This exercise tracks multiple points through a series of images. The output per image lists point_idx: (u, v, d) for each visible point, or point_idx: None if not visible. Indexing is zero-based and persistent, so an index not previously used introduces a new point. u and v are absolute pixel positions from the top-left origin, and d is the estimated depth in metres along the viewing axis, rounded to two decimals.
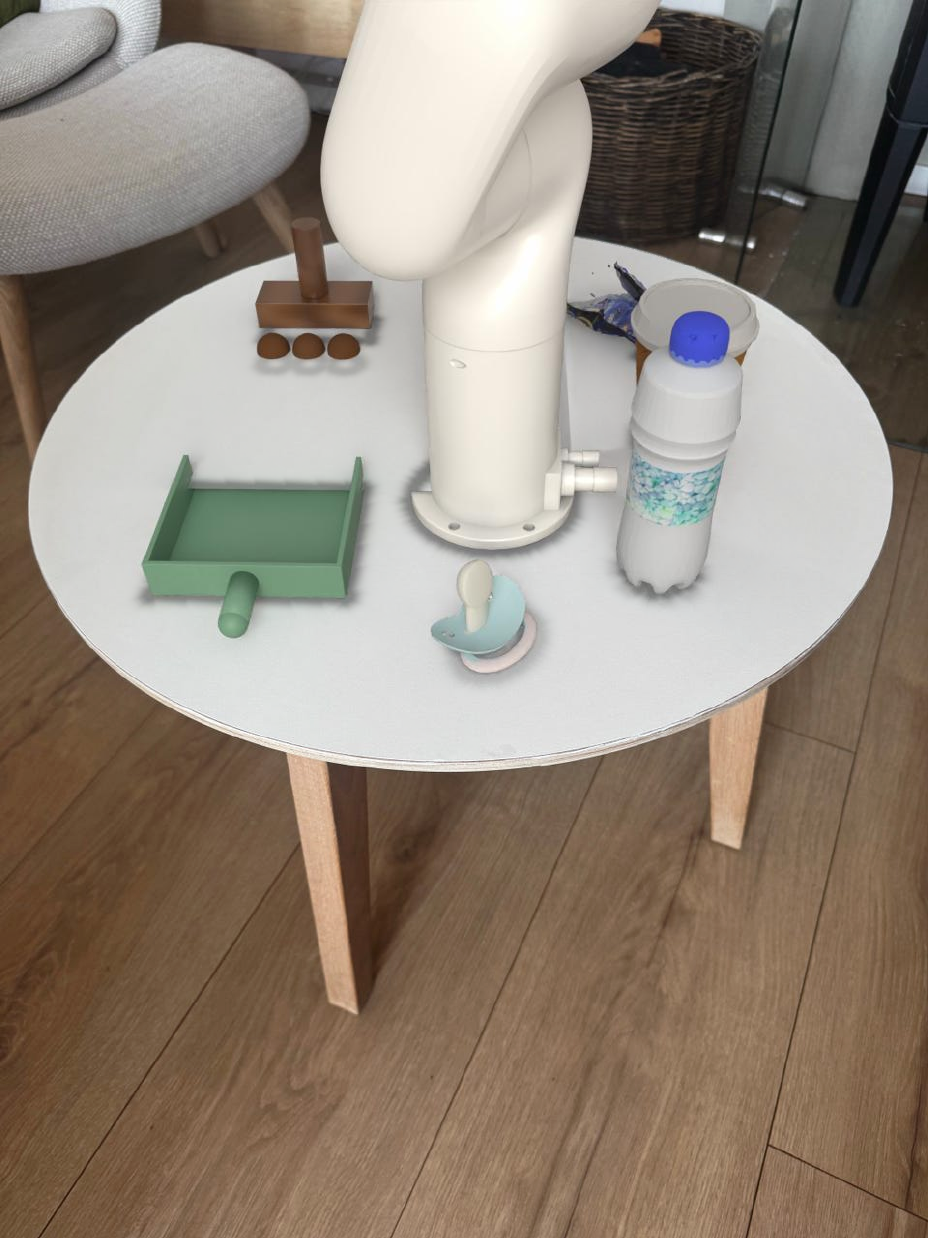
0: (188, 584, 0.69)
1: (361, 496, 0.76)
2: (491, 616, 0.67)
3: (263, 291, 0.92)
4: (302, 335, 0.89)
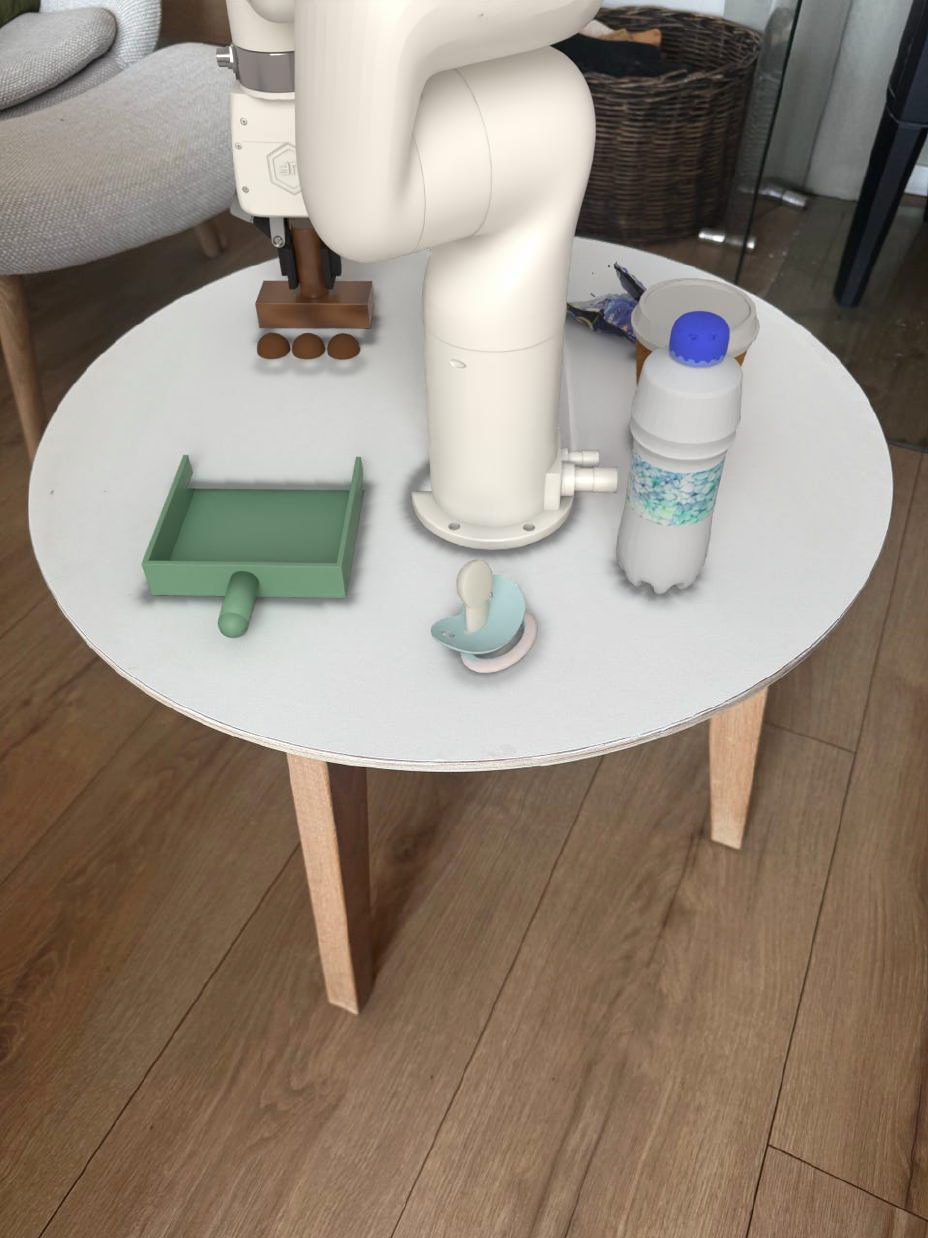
0: (188, 584, 0.69)
1: (361, 496, 0.76)
2: (491, 616, 0.67)
3: (263, 291, 0.92)
4: (302, 335, 0.89)
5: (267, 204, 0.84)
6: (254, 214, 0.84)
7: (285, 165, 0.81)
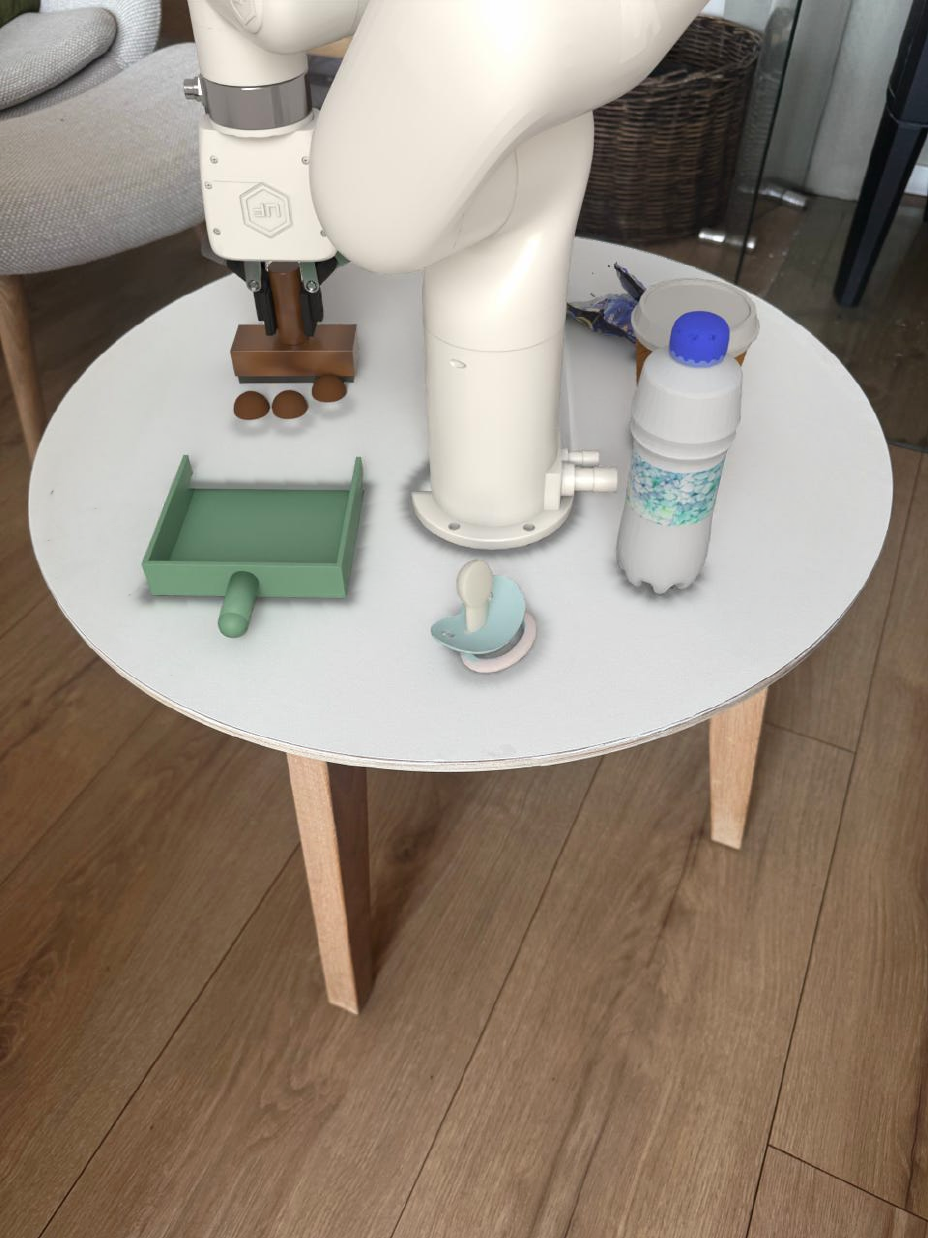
0: (188, 584, 0.69)
1: (361, 496, 0.76)
2: (491, 616, 0.67)
3: (238, 337, 0.85)
4: (283, 391, 0.83)
5: (240, 247, 0.77)
6: (227, 258, 0.77)
7: (260, 206, 0.74)
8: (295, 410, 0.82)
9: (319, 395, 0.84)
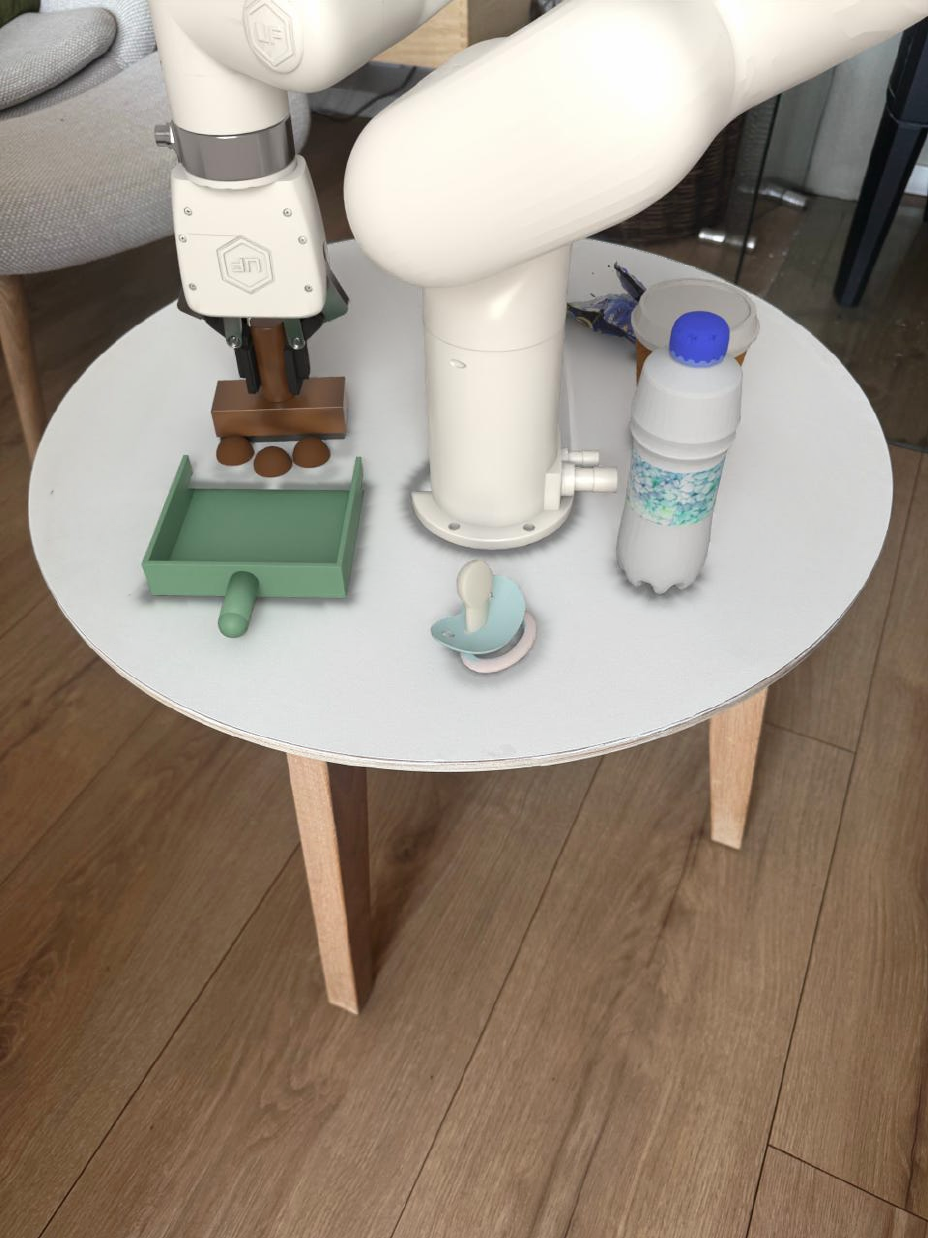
0: (188, 584, 0.69)
1: (361, 496, 0.76)
2: (491, 616, 0.67)
3: (219, 395, 0.79)
4: None
5: (219, 303, 0.71)
6: (204, 314, 0.71)
7: (238, 260, 0.68)
8: (275, 452, 0.77)
9: None
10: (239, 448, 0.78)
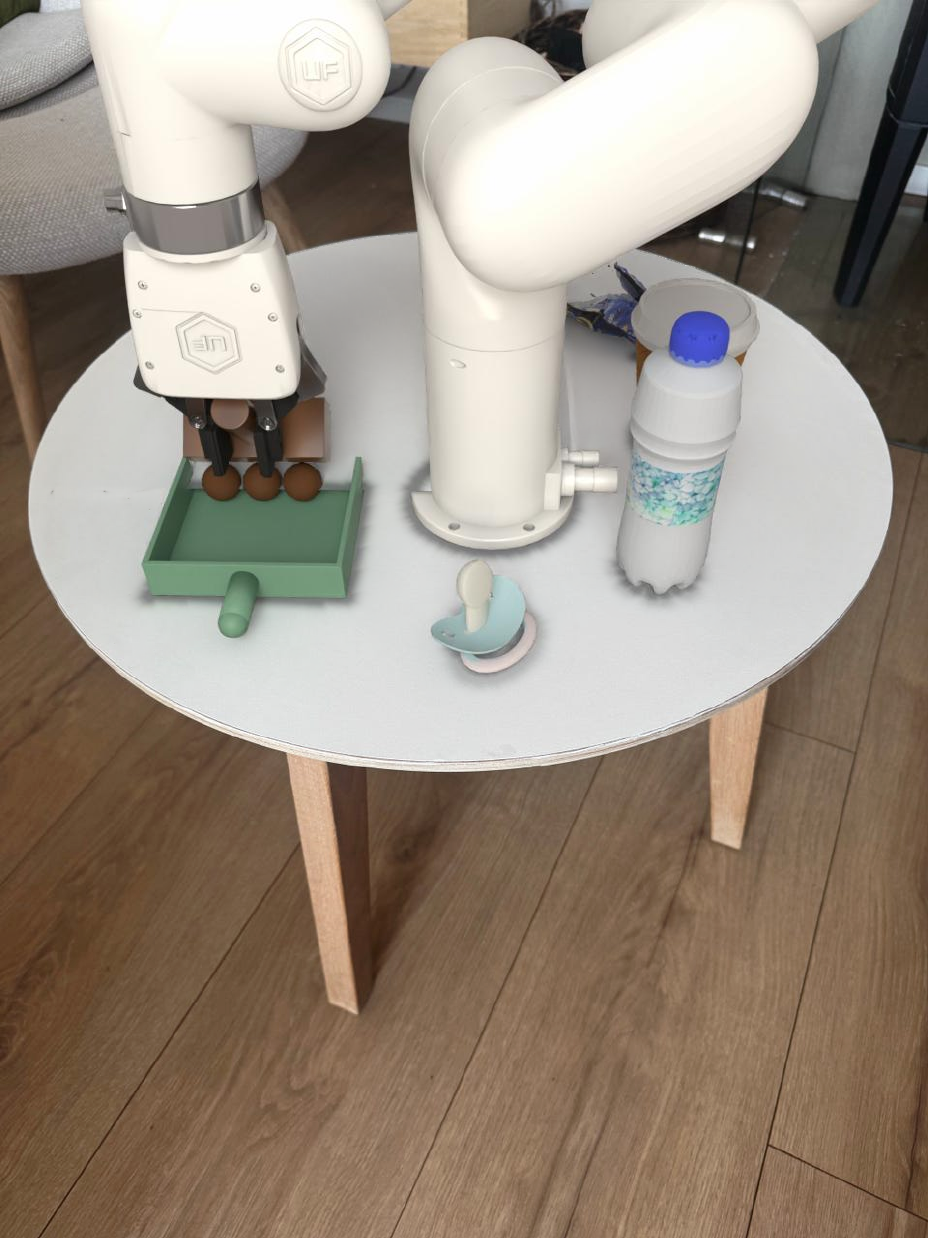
0: (188, 584, 0.69)
1: (361, 496, 0.76)
2: (491, 616, 0.67)
3: (188, 426, 0.72)
4: (255, 464, 0.76)
5: (179, 384, 0.63)
6: (163, 394, 0.64)
7: (201, 338, 0.61)
8: (261, 495, 0.75)
9: (289, 478, 0.75)
10: None
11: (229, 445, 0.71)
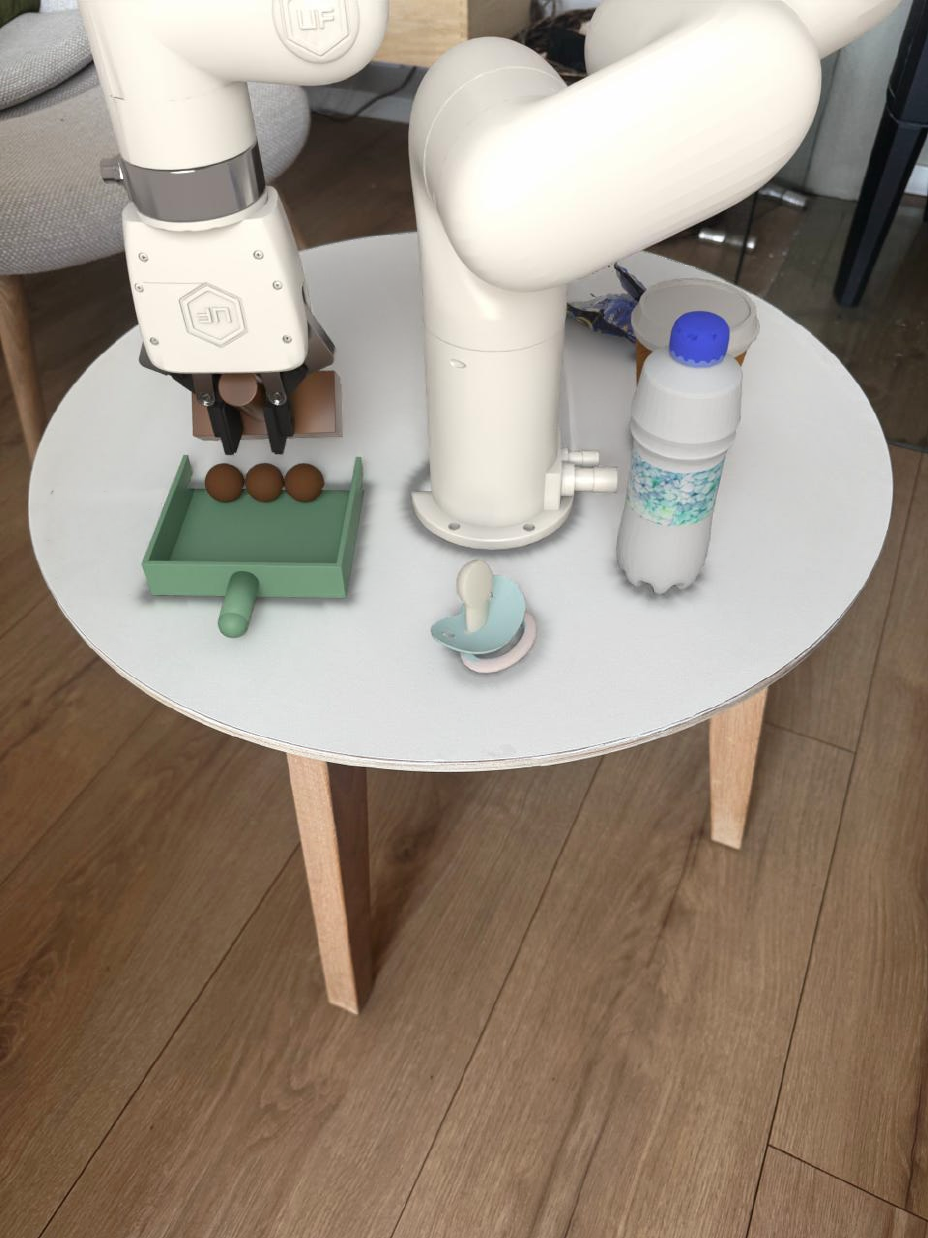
0: (188, 584, 0.69)
1: (361, 496, 0.76)
2: (491, 616, 0.67)
3: (197, 405, 0.71)
4: (259, 466, 0.75)
5: (185, 359, 0.61)
6: (169, 371, 0.62)
7: (205, 311, 0.59)
8: (263, 497, 0.75)
9: (292, 479, 0.75)
10: None
11: (239, 423, 0.69)
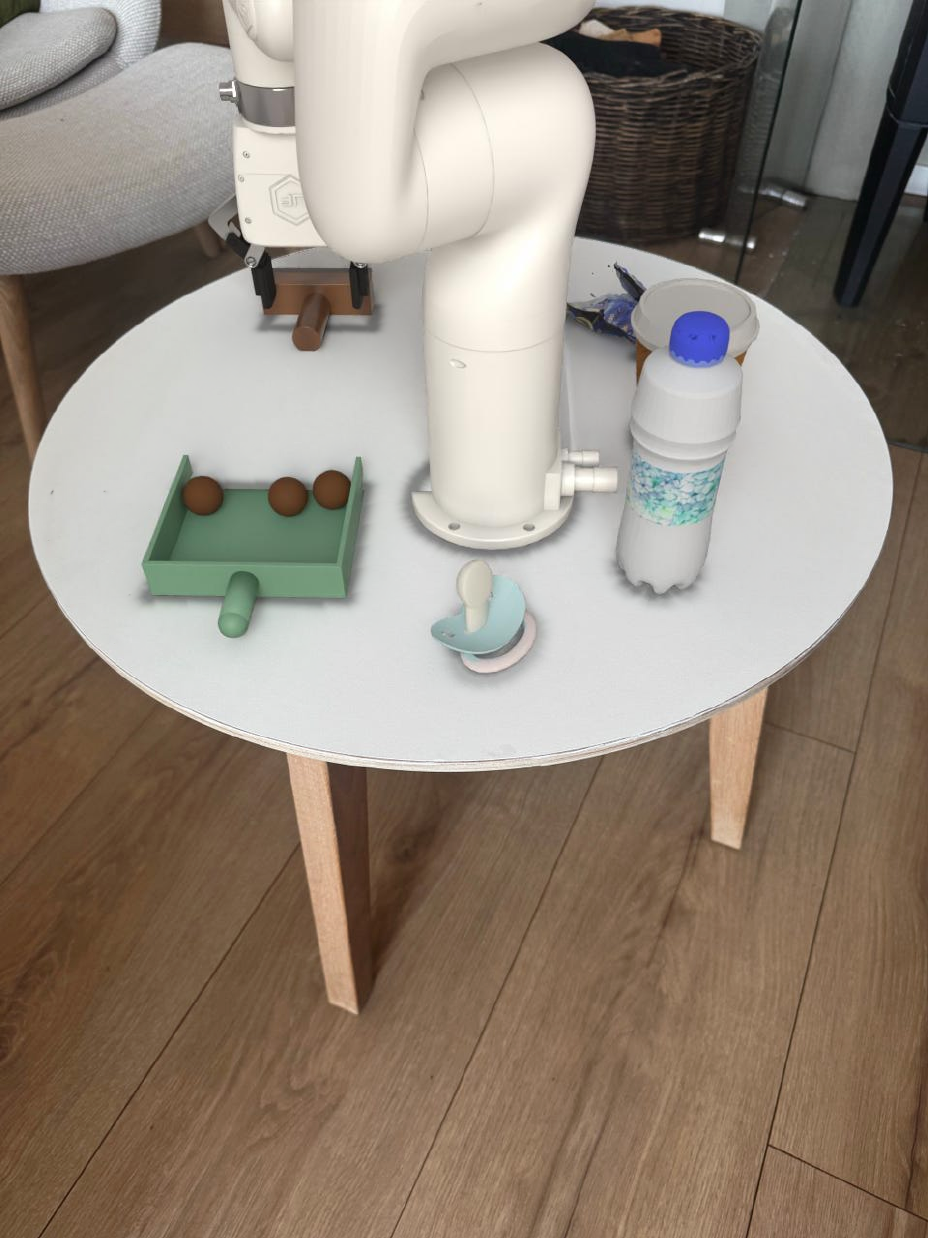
0: (188, 584, 0.69)
1: (361, 496, 0.76)
2: (491, 616, 0.67)
3: None
4: (301, 505, 0.74)
5: (269, 234, 0.84)
6: (256, 244, 0.85)
7: (287, 196, 0.82)
8: None
9: (337, 498, 0.74)
10: None
11: (273, 286, 0.92)
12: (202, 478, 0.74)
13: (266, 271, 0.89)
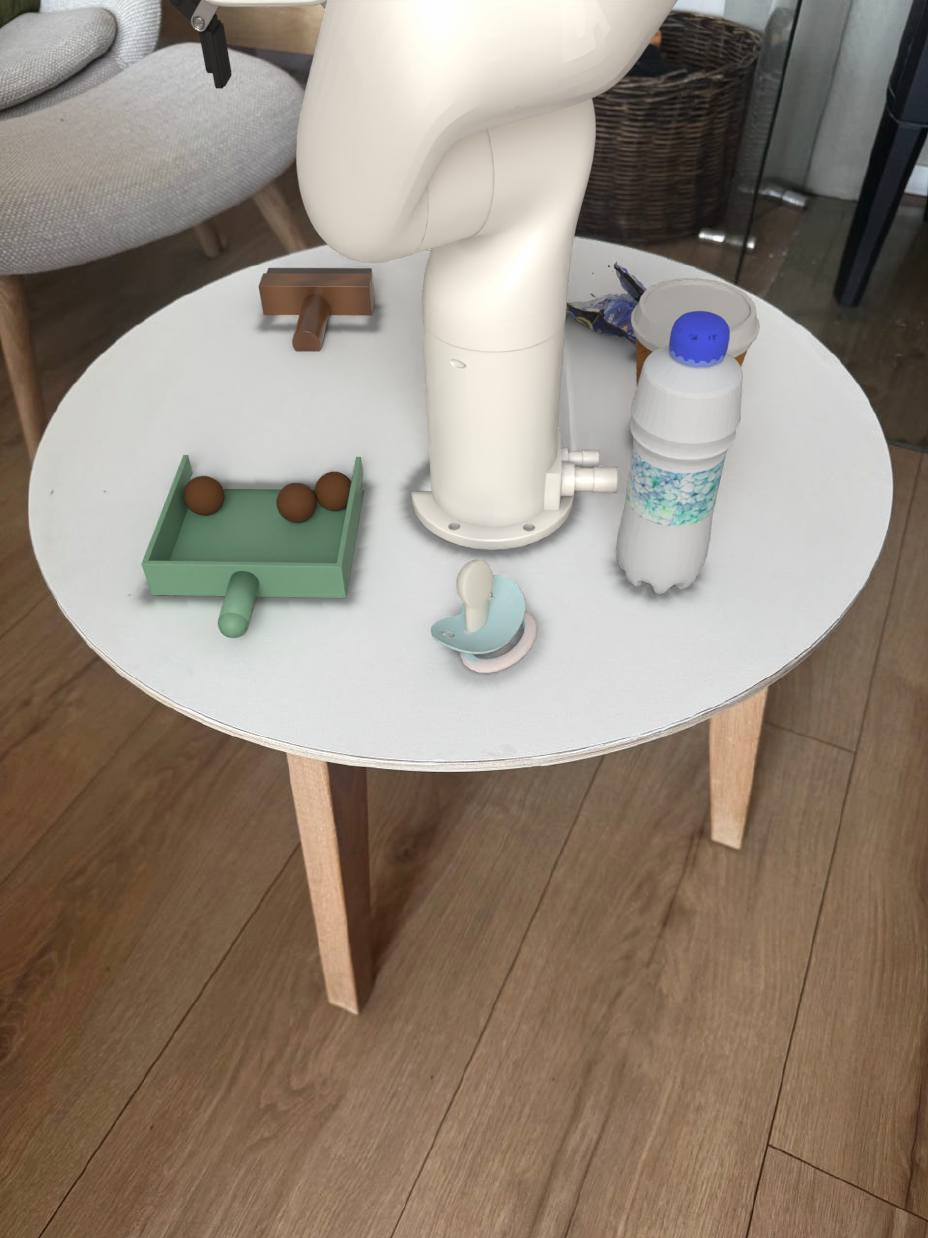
0: (188, 584, 0.69)
1: (361, 496, 0.76)
2: (491, 616, 0.67)
3: (266, 307, 0.94)
4: (308, 518, 0.75)
5: None
6: (214, 2, 0.72)
7: None
8: None
9: (340, 502, 0.74)
10: None
11: (228, 64, 0.78)
12: (205, 478, 0.74)
13: (217, 38, 0.75)
